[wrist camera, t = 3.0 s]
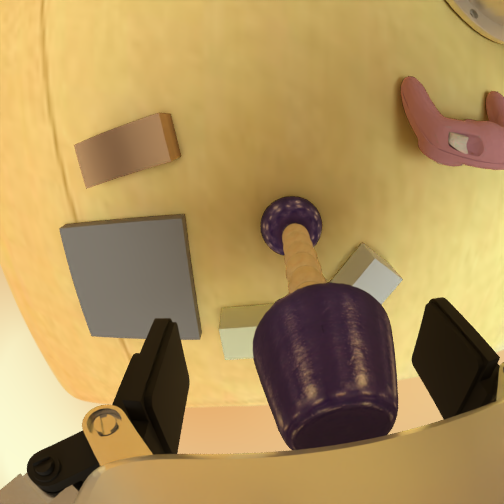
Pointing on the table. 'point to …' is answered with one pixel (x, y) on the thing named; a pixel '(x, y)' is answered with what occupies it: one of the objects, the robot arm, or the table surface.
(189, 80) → the table surface
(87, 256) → the pad
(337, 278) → the brick
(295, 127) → the table surface
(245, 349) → the brick
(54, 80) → the table surface
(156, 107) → the table surface
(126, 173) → the brick
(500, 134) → the video game controller
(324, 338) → the toy lamp
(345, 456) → the robot arm
